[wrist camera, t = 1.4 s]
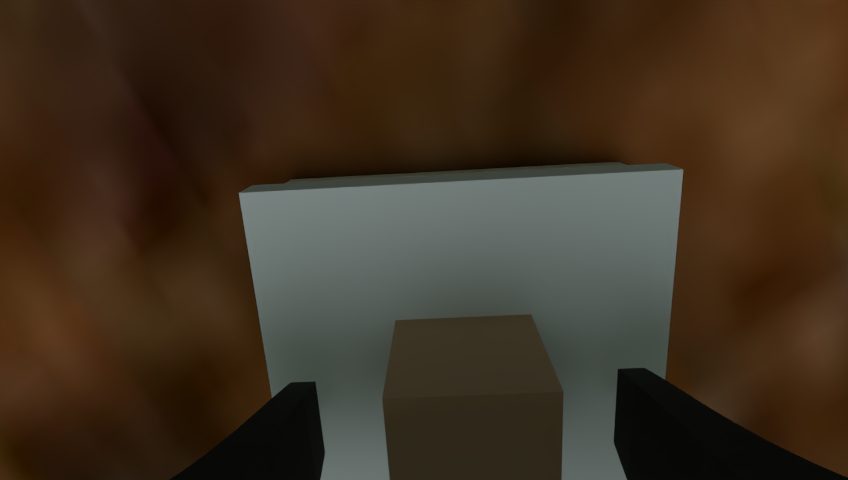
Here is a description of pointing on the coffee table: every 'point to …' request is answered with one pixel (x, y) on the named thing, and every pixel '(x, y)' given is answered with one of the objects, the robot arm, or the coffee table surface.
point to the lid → (466, 314)
